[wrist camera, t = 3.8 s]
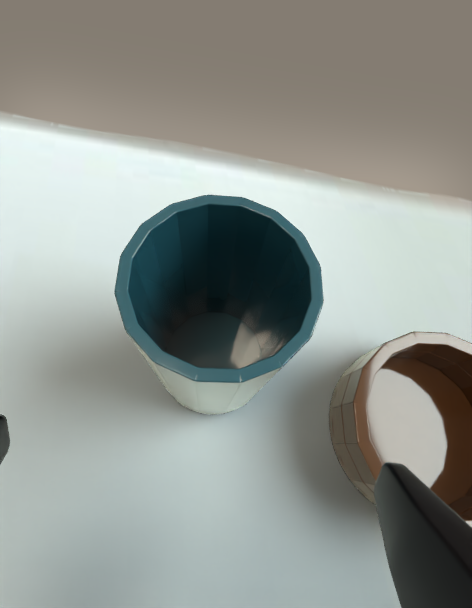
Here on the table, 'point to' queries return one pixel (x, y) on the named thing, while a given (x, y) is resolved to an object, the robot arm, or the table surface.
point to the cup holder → (409, 416)
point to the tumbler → (218, 298)
